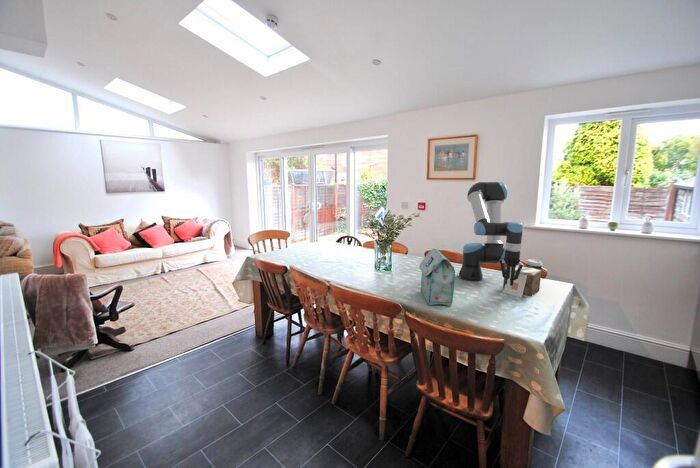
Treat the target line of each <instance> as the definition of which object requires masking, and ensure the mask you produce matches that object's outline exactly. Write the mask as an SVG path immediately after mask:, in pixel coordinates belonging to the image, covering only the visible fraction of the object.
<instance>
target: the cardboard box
mask: <svg viewBox="0 0 700 468" xmlns="http://www.w3.org/2000/svg"><path fill="white" fill-rule="evenodd" d="M518 265H519V264H518ZM518 265H517V266H516V268H515V273H516V272H517V269H518V267H519V266H518ZM505 269H507V267H506V266H505ZM510 272H511V269H510ZM520 274H524V275H527V279H526V283H525V287H524V291H523V295H526V296H529V297H533V296H534V295H535V294H537V293H539V292H540V287H541V278H542V269H541V270H538V269H533V268H528V267H526V266H523V267H522V269H521V272H520ZM505 282H506V278H504V277H503V285H502V289H503V290H504V288H505Z"/></svg>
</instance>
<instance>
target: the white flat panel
mask: <svg viewBox="0 0 700 468" xmlns="http://www.w3.org/2000/svg"><path fill="white" fill-rule="evenodd" d="M515 274H516V273H515ZM510 277H511V272H510ZM509 279H510V278H509ZM526 279H527V275H524V274H519V277H518V279H516V280H514V283H513V285H512V286H511V290H510V291H506V289H507V284H505V288H504V289H503V293H504V294H507V295H512V296H515V297H518V298H522V297H523V295H524V294H523V291H524V287H525V283H526Z"/></svg>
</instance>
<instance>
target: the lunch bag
mask: <svg viewBox="0 0 700 468" xmlns="http://www.w3.org/2000/svg"><path fill="white" fill-rule="evenodd" d="M418 268H419V270H420V271H421V281H420V291H421V293H422V295H423V297H424V298H425V300H426V302H427V304H428V305H430V306H431V305H432V306H433V305H444V306H448V307H449V306H452V305H453V302H454V301H453V300H454V290H455V283H456V282H455V281H456V270H455V267H454V266H453V264H452V262H451V261H450V260H449V259H448V258H447V257H446V256H445V255H444V254H443V253H441V251H440V250H439V249H436V248H431V250H429V251H428V253H427V254H426V255H425V256H424V258H423V259H422V260H421V261H420V263H419V266H418Z"/></svg>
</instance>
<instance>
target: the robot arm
mask: <svg viewBox="0 0 700 468" xmlns="http://www.w3.org/2000/svg"><path fill="white" fill-rule="evenodd" d="M507 197H508V187H507V185H506V184H505V182H501V181H500V182H499V181H479V182H476V183H474V184H472V186H471V187H469V189H468V192H467V200H468V202H469V203H470V204H471V207H472V212H473V216H474V219H475V223H474V226H473V233H474V234H475V235H476V236H486V241H485V242H484V243H480V242H469V243H465V245H463V248H462V261H461V262H462V263H461V264H462V265H461V268H460V270H459V272H458V278H460V279H462V280H464V281H471V282H478V281H479V282H480V281H482V280H483V277H484V275H483V271H482V268H481V267H482V266H481V265H482V264H495V265H496V264H500V269H501V270H500V271H501V275H502V278H503V279H504V278H506V282H505V284H507V289H506V291H510V290H511V286H512V285H513V283H514V280H516V279H518V277H519V274H520V272H521V269H522V267H525V264H524V263H522V262H521V250H522V249H521V248H522V240H523V239H522V238H523V231H524V225H523V223H522V222H520V221H519V222H518V221H502V205H503V203H505V202H504V201H505V200H506V199H507ZM485 205H486V206H485ZM502 237H506V238H505V245H504V242H503V241H502ZM483 244H484V245H483ZM517 265H518V266H519V267H518V269H517V272H516V274H515V268H516V266H517ZM506 267H507V269H505V268H506ZM510 269H511V277H510ZM509 278H510V279H509Z"/></svg>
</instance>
